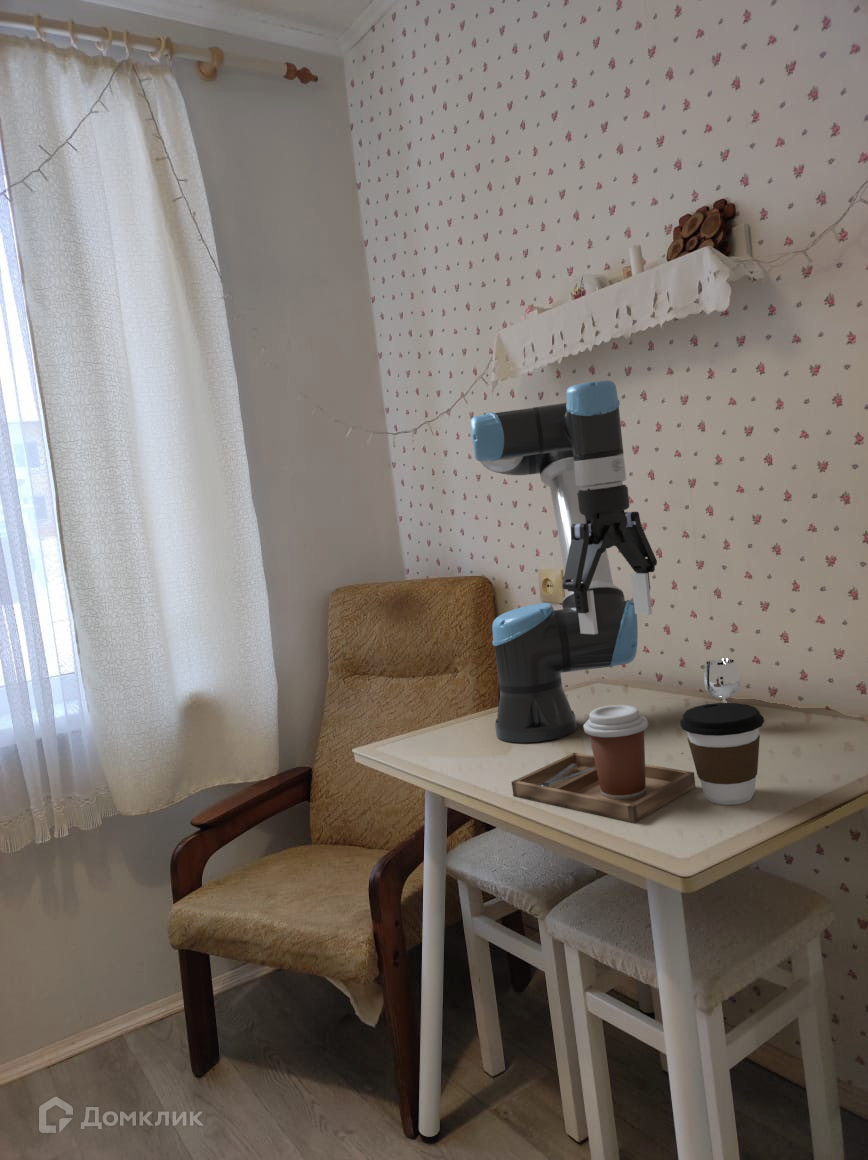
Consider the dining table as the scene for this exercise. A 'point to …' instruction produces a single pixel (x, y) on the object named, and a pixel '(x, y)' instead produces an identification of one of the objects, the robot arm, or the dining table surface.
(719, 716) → the coffee cup
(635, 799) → the walnut caddy
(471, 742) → the dining table surface
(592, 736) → the coffee cup
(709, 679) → the wineglass
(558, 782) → the steel tongs
